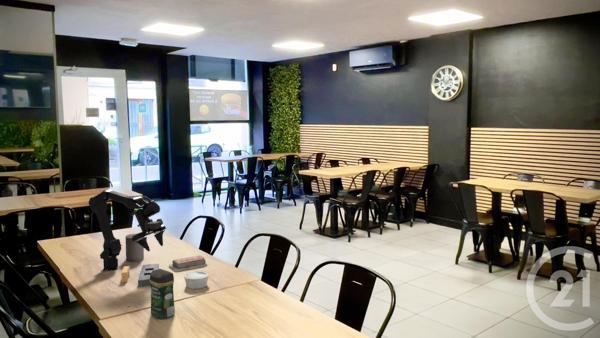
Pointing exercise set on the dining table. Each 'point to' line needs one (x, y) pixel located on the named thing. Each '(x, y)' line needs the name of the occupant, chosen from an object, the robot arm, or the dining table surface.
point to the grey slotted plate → (146, 274)
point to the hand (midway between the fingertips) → (155, 248)
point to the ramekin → (196, 280)
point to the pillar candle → (133, 250)
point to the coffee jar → (162, 294)
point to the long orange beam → (125, 274)
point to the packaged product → (188, 263)
